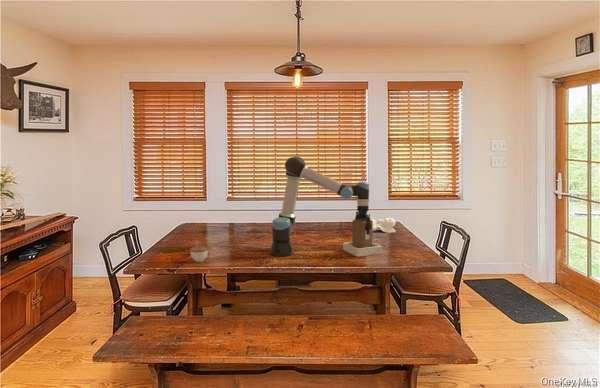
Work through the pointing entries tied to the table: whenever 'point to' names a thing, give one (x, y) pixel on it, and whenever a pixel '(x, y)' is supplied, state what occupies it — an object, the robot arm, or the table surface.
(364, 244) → the wooden block
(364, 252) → the box
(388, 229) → the cherub figurine
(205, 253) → the white round bowl
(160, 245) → the table surface
